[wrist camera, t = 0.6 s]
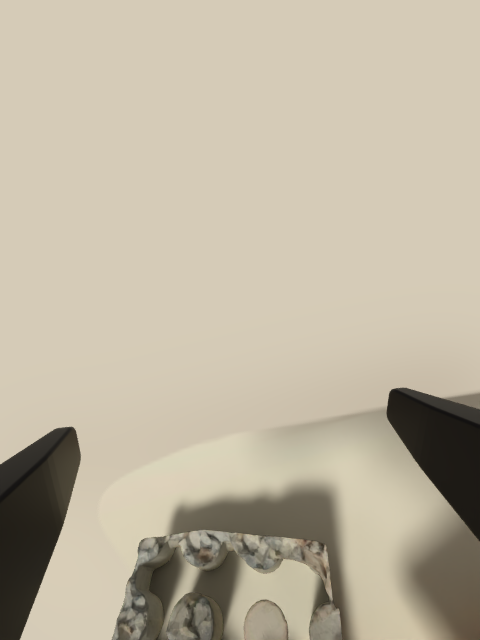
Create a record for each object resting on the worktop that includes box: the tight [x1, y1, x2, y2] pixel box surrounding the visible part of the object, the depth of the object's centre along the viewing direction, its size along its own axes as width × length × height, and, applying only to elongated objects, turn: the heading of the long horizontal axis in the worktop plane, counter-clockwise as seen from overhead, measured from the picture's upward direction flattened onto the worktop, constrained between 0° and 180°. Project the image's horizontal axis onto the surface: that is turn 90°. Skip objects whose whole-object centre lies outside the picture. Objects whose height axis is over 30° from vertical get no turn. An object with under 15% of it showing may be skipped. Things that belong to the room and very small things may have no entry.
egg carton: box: [112, 530, 342, 640], centre depth 14 cm, size 11×8×4 cm
